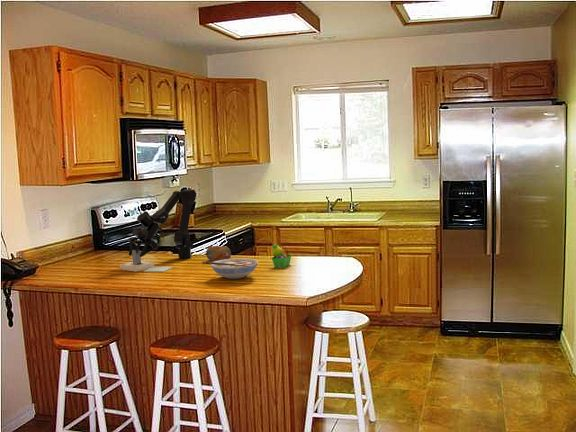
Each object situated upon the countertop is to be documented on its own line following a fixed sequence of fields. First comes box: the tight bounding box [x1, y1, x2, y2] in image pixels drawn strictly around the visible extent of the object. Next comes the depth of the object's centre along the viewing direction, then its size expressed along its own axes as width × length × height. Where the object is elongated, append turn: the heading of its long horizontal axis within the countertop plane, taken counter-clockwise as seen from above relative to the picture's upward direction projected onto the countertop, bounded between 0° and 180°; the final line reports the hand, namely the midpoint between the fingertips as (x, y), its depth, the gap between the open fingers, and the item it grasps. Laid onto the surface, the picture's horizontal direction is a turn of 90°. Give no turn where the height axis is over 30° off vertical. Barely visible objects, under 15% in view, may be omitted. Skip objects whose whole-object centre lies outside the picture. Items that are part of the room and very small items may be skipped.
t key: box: [132, 248, 142, 265], centre depth 331 cm, size 3×6×10 cm, turn 51°
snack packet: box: [205, 245, 232, 262], centre depth 344 cm, size 15×3×8 cm, turn 62°
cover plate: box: [119, 260, 155, 272], centre depth 332 cm, size 12×13×2 cm
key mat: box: [143, 265, 174, 273], centre depth 325 cm, size 11×11×1 cm
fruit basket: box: [271, 244, 292, 269], centre depth 322 cm, size 11×9×11 cm
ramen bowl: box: [202, 257, 259, 280], centre depth 298 cm, size 25×23×8 cm
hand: (134, 255), depth 330 cm, fingers open, 9 cm apart
